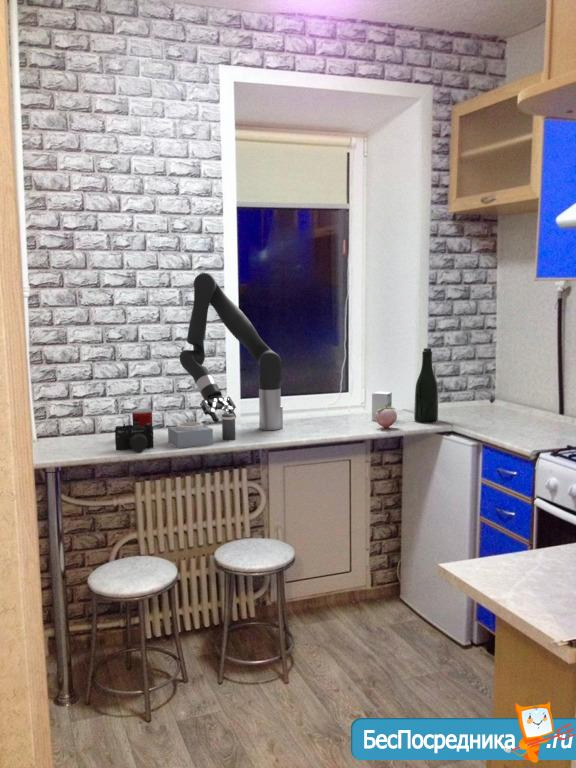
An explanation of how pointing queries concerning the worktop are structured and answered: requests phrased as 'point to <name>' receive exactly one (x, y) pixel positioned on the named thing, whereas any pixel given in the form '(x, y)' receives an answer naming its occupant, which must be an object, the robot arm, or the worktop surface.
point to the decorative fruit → (386, 416)
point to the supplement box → (380, 402)
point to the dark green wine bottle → (426, 391)
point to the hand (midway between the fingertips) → (225, 420)
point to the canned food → (142, 416)
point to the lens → (228, 426)
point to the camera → (134, 437)
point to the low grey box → (190, 434)
